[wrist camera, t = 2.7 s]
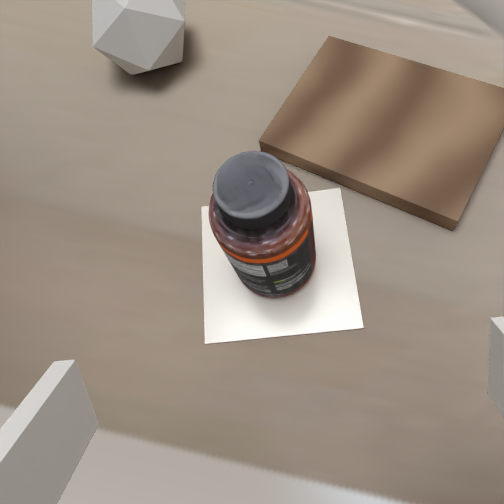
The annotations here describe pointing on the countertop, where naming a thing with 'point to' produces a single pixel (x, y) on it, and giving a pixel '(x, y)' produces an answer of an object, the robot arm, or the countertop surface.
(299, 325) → the white tile
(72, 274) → the countertop surface
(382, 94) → the walnut board
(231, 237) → the supplement bottle
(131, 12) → the die
